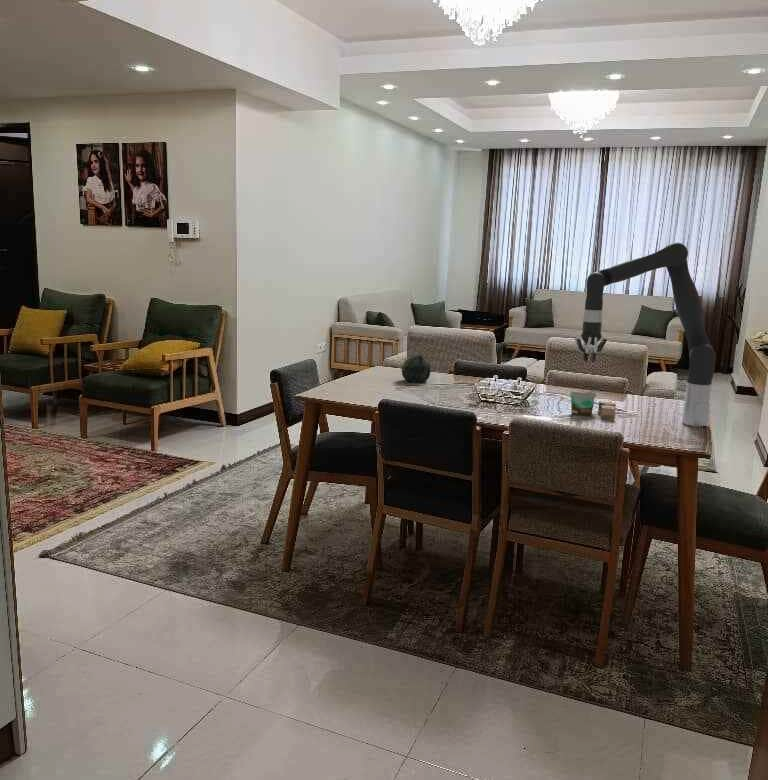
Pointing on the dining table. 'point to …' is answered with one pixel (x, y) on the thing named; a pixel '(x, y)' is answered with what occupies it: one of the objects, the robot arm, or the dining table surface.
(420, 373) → the squash
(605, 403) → the marked block
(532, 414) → the dining table surface
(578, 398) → the food container
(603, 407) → the marked block
